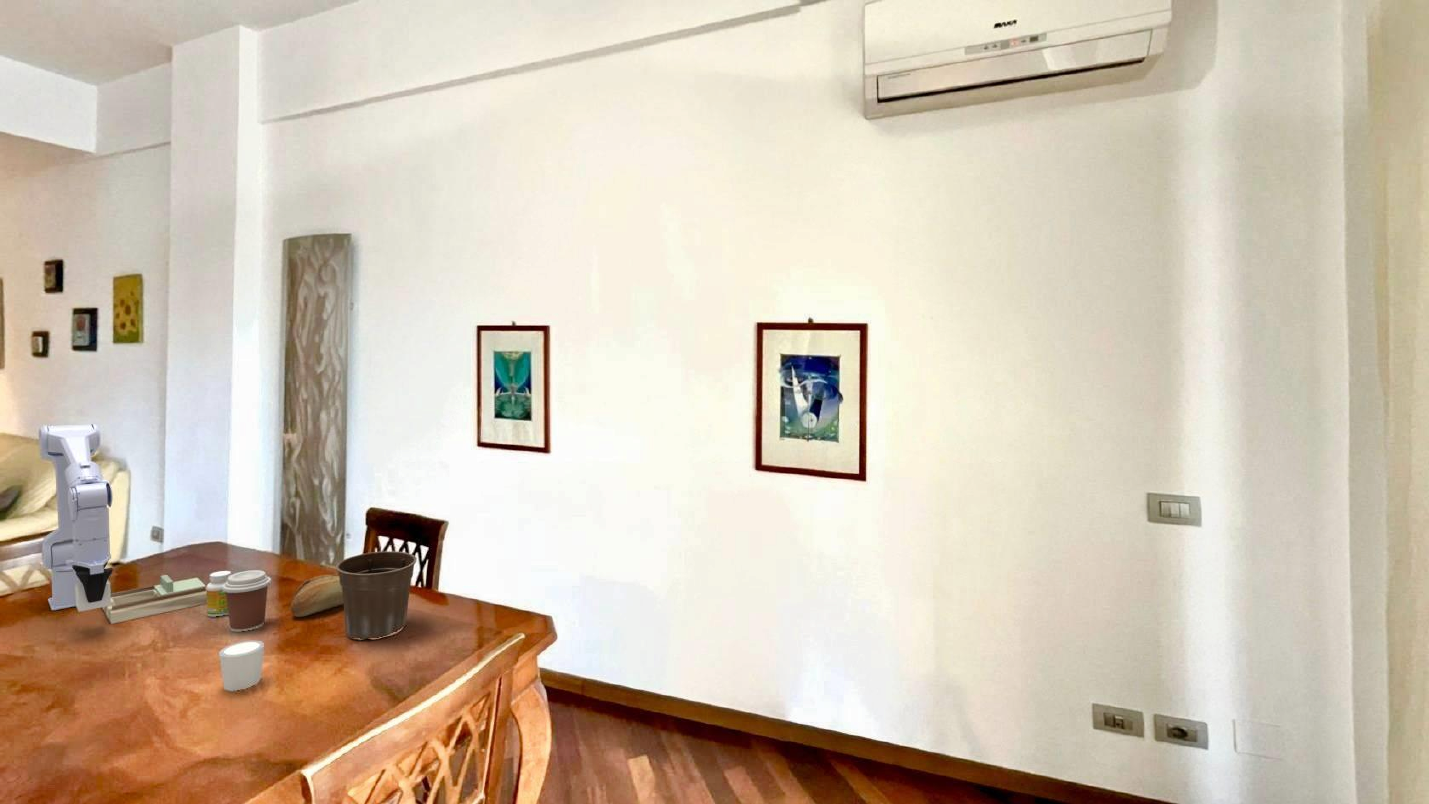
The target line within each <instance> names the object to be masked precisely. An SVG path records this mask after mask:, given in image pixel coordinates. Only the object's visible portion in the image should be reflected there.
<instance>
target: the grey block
mask: <svg viewBox="0 0 1429 804" xmlns="http://www.w3.org/2000/svg"><path fill="white" fill-rule="evenodd" d="M75 592H76V606H75V607H76V609H77V612H79V613H80V612H84V611H90V610H94V609H99V608H102V607H105V606H110V605H111V582H110V580H109V579H108V580H107V583H106V586H105V591H104V595H103V598H102V600H101V601H97V602H92V603H89V602H88V600H87V598H86V594H85V590H84V587H83V584H82V582H81V583H75Z"/></svg>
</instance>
